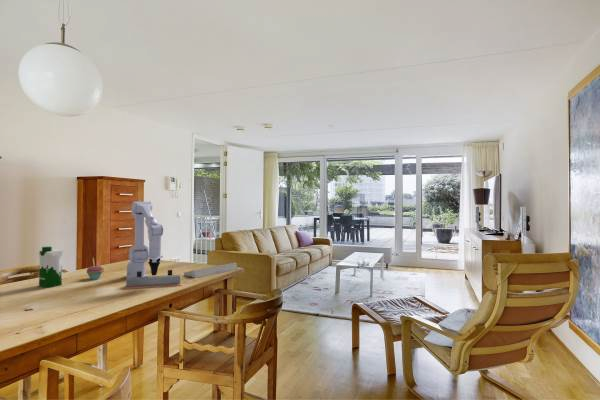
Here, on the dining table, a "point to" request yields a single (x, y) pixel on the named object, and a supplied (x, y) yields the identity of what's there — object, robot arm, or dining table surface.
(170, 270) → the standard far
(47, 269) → the milk carton
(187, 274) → the decorative molding
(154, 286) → the mat
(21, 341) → the dining table surface
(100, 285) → the dining table surface
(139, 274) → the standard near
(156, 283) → the rail
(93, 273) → the cupcake
